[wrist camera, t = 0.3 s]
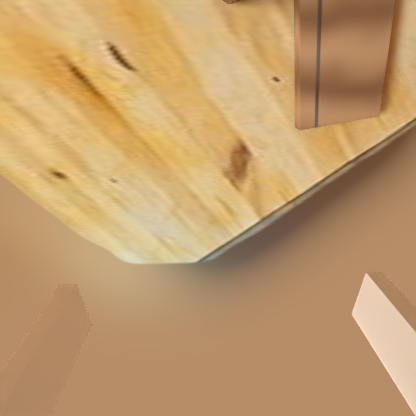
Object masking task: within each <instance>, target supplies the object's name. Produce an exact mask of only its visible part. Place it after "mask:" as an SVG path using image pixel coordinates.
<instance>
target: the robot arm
mask: <svg viewBox="0 0 416 416" xmlns="http://www.w3.org/2000/svg"><path fill="white" fill-rule="evenodd" d="M352 315H353V317H354V319H355V320H356V322H357V323H358V325H359V326H360V328H361V330H362V331H363V333H364V334H365V336H366V338H367V339H368V341H369V342H370V344H371V346H372V347H373V349H374V350H375V352H376V354H377V355H378V357H379V358H380V360H381V361H382V363H383V365H384V366H385V368H386V369H387V371H388V373H389V374H390V376H391V378H392V379H393V381H394V382H395V384H396V385H397V387H398V389H399V390H400V392H401V393H402V395H403V397H404V398H405V400H406V401H407V403H408V405H409V406H410V408H411V409H412V411H413V412H414V414H415V416H416V307H415V306H414V305H413V304H412V303H411V302H410V301H409V300H408V299H407V298H406V297H405V295H404V294H403V293H402V292H401V291H400V290H399V289H398V288H397V287H396V286H395V285H394V283H393V282H392V281H390V279H389V278H388V277H387V276H386V275H385V274H384V273H383V272H368V273H366V274H365V277H364V280H363V283H362V286H361V289H360V292H359V295H358V298H357V300H356V304H355V306H354V309H353V312H352ZM91 326H92V324H91V321H90V318H89V315H88V313H87V310H86V307H85V305H84V302H83V299H82V296H81V294H80V291H79V288H78V286H77V284H63V285H59V287H58V288H57V290H56V291H55V293H54V294H53V296H52V297H51V298H50V300H49V301H48V303H47V305H46V306H45V307H44V309H43V310H42V312H41V313H40V315H39V316H38V318H37V319H36V321H35V322H34V324H33V325H32V326H31V328H30V329H29V331H28V332H27V334H26V335H25V337H24V338H23V340H22V341H21V343H20V345H19V346H18V347H17V349H16V350H15V352H14V353H13V354H12V356H11V358H10V359H9V360H8V362H7V363H6V365H5V366H4V368H3V369H2V371H1V372H0V416H52V414H53V412H54V409H55V407H56V405H57V403H58V400H59V398H60V396H61V394H62V391H63V389H64V387H65V384H66V382H67V380H68V378H69V375H70V373H71V371H72V369H73V366H74V364H75V362H76V359H77V357H78V355H79V353H80V351H81V348H82V346H83V344H84V342H85V339H86V337H87V335H88V332H89V330H90V328H91Z"/></svg>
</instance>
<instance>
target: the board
mask: <svg viewBox="0 0 416 416" xmlns="http://www.w3.org/2000/svg"><path fill="white" fill-rule="evenodd" d="M394 7H395V0H294V26H295V127H296V128H297V129H299V130H303V129H309V128H316V127H320V126H326V125H332V124H338V123H344V122H349V121H355V120H361V119H367V118H372V117H378V116H379V114H380V107H381V100H382V93H383V86H384V79H385V72H386V64H387V57H388V50H389V43H390V36H391V29H392V22H393V15H394Z"/></svg>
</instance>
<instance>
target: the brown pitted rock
mask: <svg viewBox="0 0 416 416" xmlns="http://www.w3.org/2000/svg"><path fill="white" fill-rule="evenodd" d="M223 1H224V2H226V3H227V4H232V3H235V2H237V1H239V0H223Z"/></svg>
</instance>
